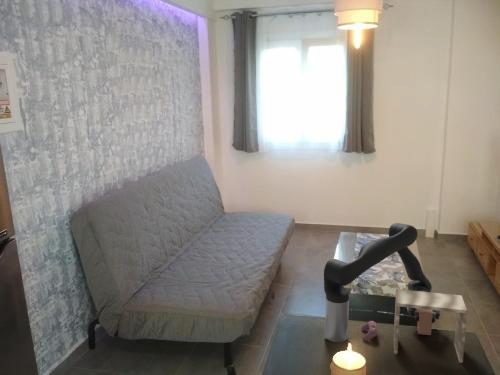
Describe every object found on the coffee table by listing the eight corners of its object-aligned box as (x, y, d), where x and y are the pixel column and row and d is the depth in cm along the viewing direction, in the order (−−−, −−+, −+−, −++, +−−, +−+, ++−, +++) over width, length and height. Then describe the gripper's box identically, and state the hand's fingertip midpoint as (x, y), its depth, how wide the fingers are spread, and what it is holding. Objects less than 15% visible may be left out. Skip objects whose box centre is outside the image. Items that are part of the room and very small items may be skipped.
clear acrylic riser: (394, 353, 175) (396, 303, 171) (393, 336, 188) (396, 289, 183) (462, 363, 169) (467, 310, 164) (457, 344, 181) (461, 295, 177)
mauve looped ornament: (371, 345, 184) (380, 332, 182) (361, 340, 184) (370, 326, 183) (369, 333, 194) (377, 320, 192) (360, 328, 194) (368, 315, 192)
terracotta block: (418, 333, 187) (419, 311, 185) (417, 327, 192) (418, 306, 190) (431, 335, 186) (432, 312, 184) (429, 329, 190) (431, 307, 188)
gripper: (405, 292, 202) (407, 309, 186) (440, 295, 198) (445, 313, 182) (404, 307, 203) (406, 326, 188) (439, 311, 200) (443, 330, 184)
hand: (425, 320), depth 185 cm, fingers closed on terracotta block, 5 cm apart
